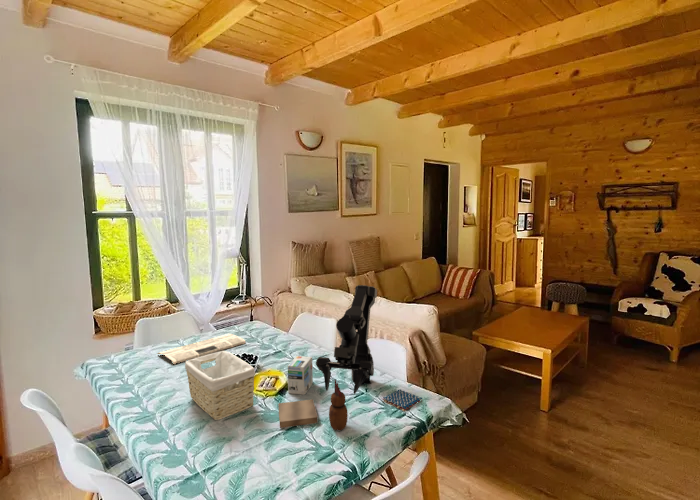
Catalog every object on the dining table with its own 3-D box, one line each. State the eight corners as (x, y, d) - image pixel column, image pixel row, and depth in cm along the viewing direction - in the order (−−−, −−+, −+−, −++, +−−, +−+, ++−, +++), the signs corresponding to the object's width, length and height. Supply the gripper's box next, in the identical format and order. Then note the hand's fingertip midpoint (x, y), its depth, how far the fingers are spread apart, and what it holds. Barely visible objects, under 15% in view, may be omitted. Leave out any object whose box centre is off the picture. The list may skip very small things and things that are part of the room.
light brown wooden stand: (313, 404, 137) (313, 399, 137) (317, 422, 126) (317, 417, 125) (278, 408, 135) (278, 403, 134) (279, 427, 123) (279, 421, 123)
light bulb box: (304, 395, 144) (304, 367, 143) (287, 393, 146) (286, 366, 144) (313, 382, 155) (312, 356, 154) (297, 381, 156) (296, 355, 155)
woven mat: (399, 392, 146) (399, 387, 146) (422, 402, 139) (422, 397, 139) (380, 402, 139) (380, 397, 139) (404, 413, 132) (404, 407, 131)
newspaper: (173, 366, 174) (173, 360, 173) (156, 355, 187) (155, 350, 186) (245, 344, 200) (245, 339, 200) (226, 336, 214) (226, 331, 213)
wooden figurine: (329, 422, 126) (328, 377, 124) (346, 421, 126) (346, 376, 125) (329, 434, 119) (328, 387, 118) (348, 432, 120) (347, 386, 118)
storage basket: (258, 407, 136) (256, 366, 134) (213, 425, 125) (211, 381, 123) (227, 385, 153) (225, 349, 152) (185, 399, 142) (183, 360, 141)
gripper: (317, 333, 130) (305, 379, 120) (372, 337, 125) (364, 385, 116) (324, 348, 138) (314, 392, 129) (376, 352, 134) (370, 398, 124)
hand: (340, 391), depth 124 cm, fingers open, 9 cm apart
